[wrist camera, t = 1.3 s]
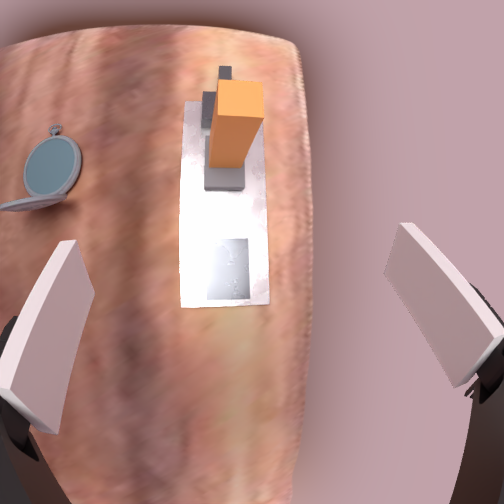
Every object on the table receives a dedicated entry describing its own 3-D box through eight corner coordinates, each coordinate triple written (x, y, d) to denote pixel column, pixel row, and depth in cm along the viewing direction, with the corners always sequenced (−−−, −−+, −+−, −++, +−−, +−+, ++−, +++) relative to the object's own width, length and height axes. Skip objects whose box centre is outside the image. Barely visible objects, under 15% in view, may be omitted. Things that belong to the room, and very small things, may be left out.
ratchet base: (185, 106, 40) (185, 89, 35) (259, 109, 42) (266, 93, 38) (181, 306, 38) (180, 309, 33) (266, 303, 40) (275, 306, 35)
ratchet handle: (208, 69, 39) (217, -1, 25) (241, 71, 40) (261, 3, 26) (204, 189, 38) (211, 140, 23) (243, 190, 38) (271, 143, 24)
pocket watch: (-18, 212, 23) (0, 101, 24) (24, 227, 34) (31, 133, 35) (48, 196, 25) (63, 79, 26) (82, 216, 36) (86, 120, 37)
